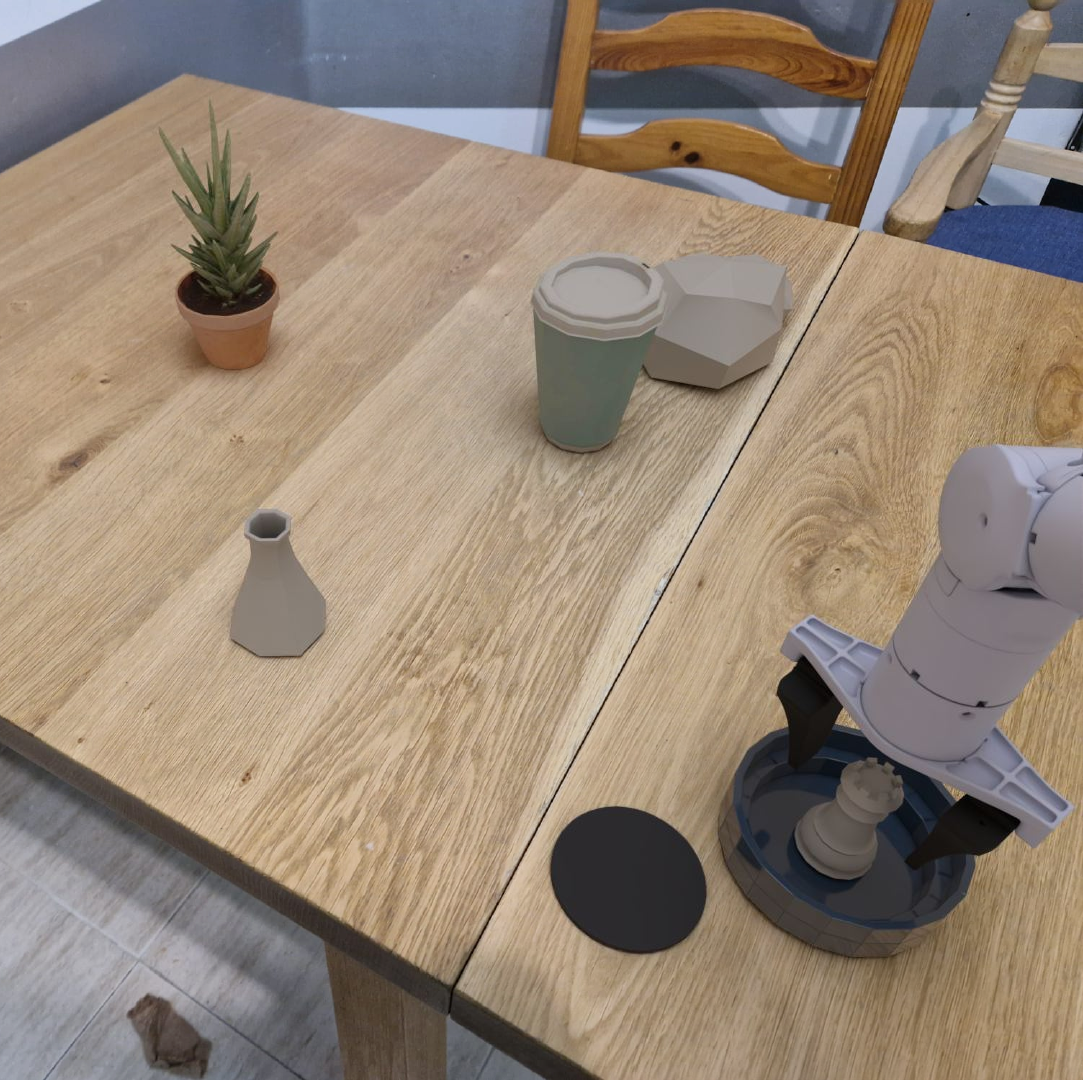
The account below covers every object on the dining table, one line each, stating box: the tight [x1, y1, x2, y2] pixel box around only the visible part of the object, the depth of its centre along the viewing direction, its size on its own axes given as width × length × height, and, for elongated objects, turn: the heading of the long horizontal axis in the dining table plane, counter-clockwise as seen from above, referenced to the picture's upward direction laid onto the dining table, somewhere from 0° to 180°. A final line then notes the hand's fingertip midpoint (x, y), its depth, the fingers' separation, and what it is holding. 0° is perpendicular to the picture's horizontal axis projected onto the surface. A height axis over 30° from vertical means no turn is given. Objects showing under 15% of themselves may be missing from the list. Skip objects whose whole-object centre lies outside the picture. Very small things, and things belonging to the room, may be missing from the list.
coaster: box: [550, 805, 707, 954], centre depth 59 cm, size 9×9×1 cm
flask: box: [229, 508, 327, 657], centre depth 70 cm, size 7×7×10 cm
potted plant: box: [156, 98, 281, 370], centre depth 89 cm, size 10×10×25 cm
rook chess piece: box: [794, 757, 904, 880], centre depth 57 cm, size 4×4×8 cm
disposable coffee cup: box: [529, 250, 667, 454], centre depth 83 cm, size 11×11×15 cm
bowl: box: [718, 723, 977, 958], centre depth 59 cm, size 13×13×4 cm
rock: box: [642, 252, 794, 390], centre depth 94 cm, size 18×20×10 cm
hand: (859, 805), depth 57 cm, fingers open, 7 cm apart
